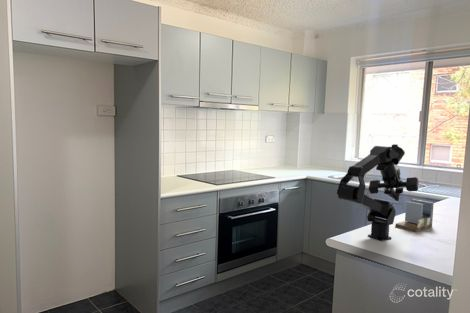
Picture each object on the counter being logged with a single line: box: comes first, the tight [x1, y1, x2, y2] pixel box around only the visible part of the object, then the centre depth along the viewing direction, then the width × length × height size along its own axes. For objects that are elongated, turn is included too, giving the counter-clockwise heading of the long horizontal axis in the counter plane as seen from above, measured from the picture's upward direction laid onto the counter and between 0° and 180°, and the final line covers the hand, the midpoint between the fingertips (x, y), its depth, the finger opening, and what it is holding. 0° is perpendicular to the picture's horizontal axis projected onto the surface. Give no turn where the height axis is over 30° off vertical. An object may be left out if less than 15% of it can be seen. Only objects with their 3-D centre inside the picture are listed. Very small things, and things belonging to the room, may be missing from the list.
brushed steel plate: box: [410, 198, 434, 225], centre depth 162 cm, size 2×9×10 cm, turn 36°
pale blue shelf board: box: [404, 200, 429, 224], centre depth 158 cm, size 4×9×9 cm, turn 36°
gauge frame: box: [395, 217, 433, 233], centre depth 159 cm, size 14×9×5 cm, turn 126°
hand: (397, 200), depth 151 cm, fingers closed
